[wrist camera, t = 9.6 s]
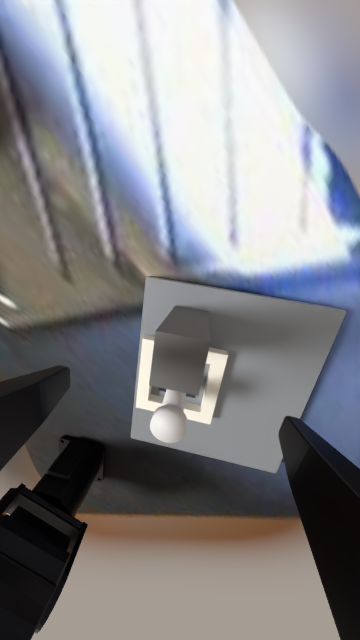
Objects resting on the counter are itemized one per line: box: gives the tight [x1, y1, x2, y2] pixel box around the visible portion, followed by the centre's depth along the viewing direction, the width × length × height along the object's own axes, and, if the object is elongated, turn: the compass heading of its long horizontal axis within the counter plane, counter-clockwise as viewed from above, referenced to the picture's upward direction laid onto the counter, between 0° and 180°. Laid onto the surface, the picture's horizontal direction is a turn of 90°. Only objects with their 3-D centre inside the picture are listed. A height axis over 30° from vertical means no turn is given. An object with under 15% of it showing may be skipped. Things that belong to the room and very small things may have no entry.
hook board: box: [131, 276, 347, 473], centre depth 16 cm, size 19×17×8 cm
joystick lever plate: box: [136, 306, 228, 424], centre depth 15 cm, size 11×8×7 cm
